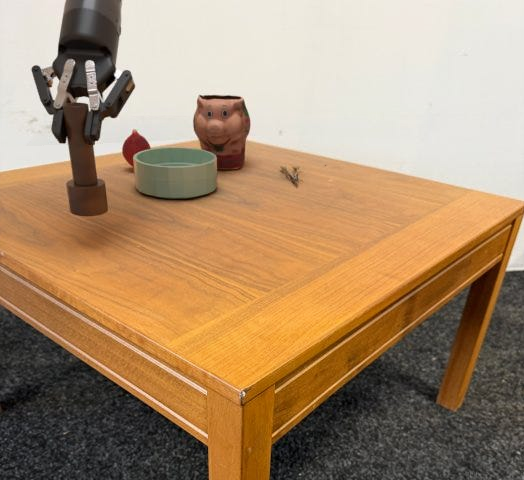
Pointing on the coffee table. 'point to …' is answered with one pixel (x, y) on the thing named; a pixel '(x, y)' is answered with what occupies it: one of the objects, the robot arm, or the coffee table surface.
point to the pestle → (82, 166)
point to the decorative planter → (222, 128)
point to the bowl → (175, 172)
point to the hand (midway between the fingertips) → (74, 140)
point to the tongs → (290, 174)
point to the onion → (134, 146)
